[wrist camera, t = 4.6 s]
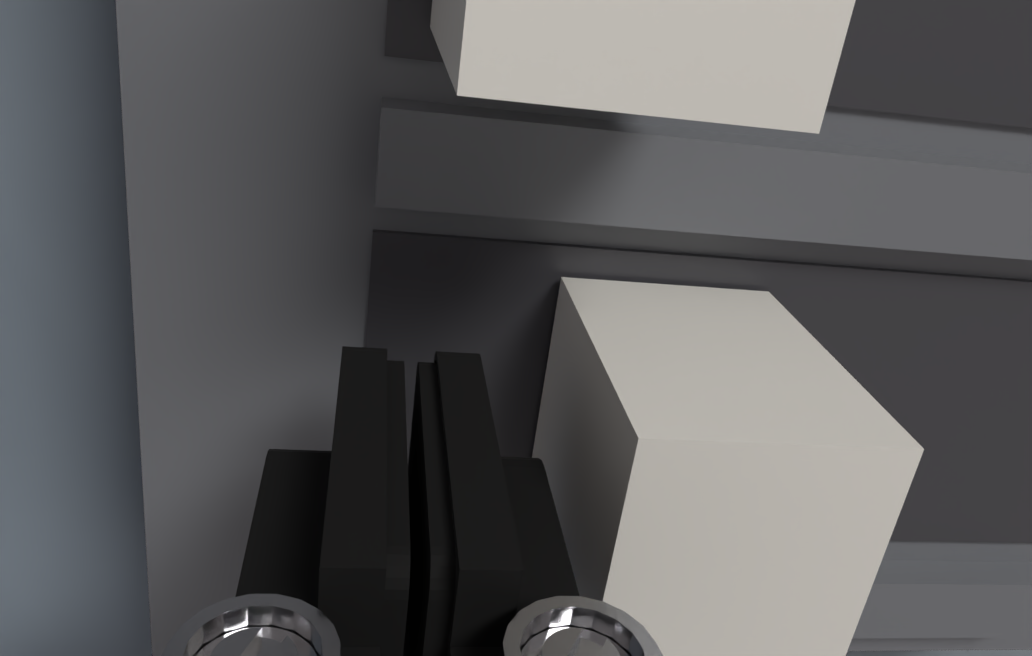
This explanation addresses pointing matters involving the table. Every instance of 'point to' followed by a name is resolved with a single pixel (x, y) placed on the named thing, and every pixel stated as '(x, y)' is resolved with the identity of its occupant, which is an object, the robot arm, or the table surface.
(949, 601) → the switch bank
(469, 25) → the tab middle
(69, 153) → the table surface
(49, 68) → the table surface
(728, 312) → the tab
